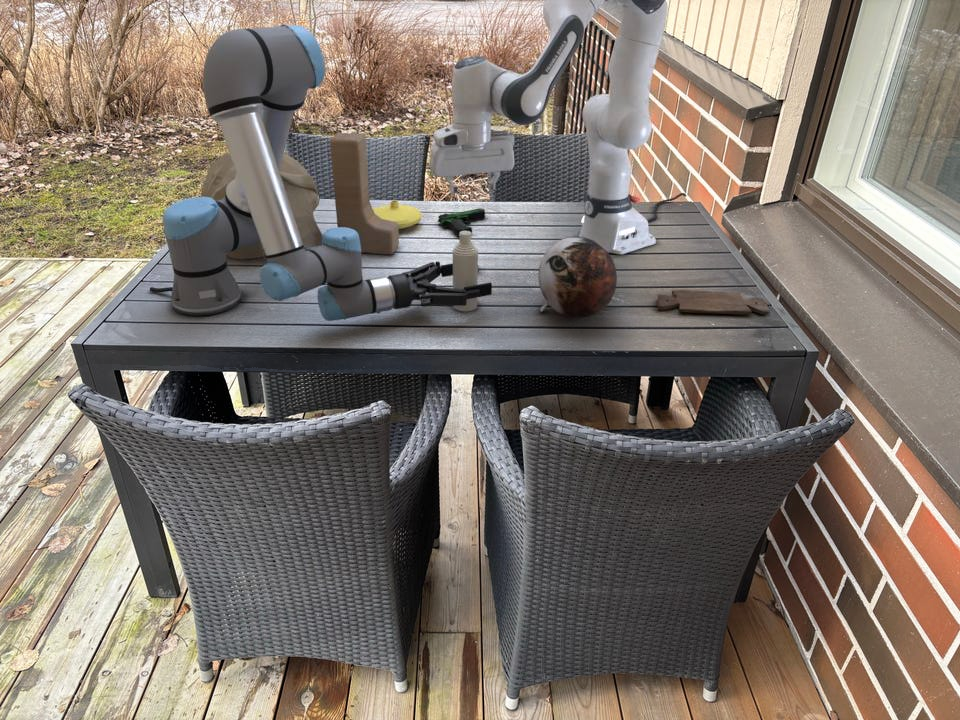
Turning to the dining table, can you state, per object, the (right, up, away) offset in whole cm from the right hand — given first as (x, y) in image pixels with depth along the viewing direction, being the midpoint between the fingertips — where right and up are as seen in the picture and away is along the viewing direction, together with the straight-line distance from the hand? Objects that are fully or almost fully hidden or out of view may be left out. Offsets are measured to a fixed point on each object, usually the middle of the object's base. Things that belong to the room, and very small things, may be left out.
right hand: (472, 191), depth 173 cm
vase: (-23, -1, +39) cm, 45 cm away
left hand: (+1, -22, -9) cm, 24 cm away
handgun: (-2, -1, +39) cm, 39 cm away
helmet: (-57, -10, +23) cm, 62 cm away
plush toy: (+23, -30, -9) cm, 39 cm away
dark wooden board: (+56, -28, -5) cm, 63 cm away
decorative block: (-29, -11, +23) cm, 38 cm away
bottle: (-2, -28, -7) cm, 29 cm away
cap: (-1, -17, +10) cm, 20 cm away
